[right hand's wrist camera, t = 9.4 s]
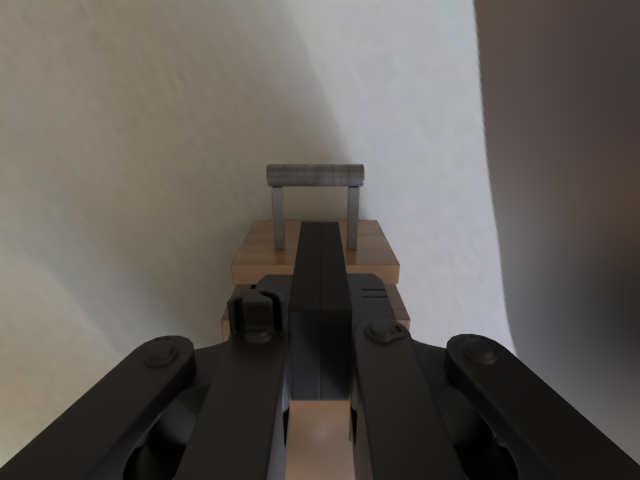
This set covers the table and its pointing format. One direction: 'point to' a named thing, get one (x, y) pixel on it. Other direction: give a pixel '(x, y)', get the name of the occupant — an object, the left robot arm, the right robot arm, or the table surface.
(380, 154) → the table surface
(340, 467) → the cabinet
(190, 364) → the right robot arm
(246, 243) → the drawer
